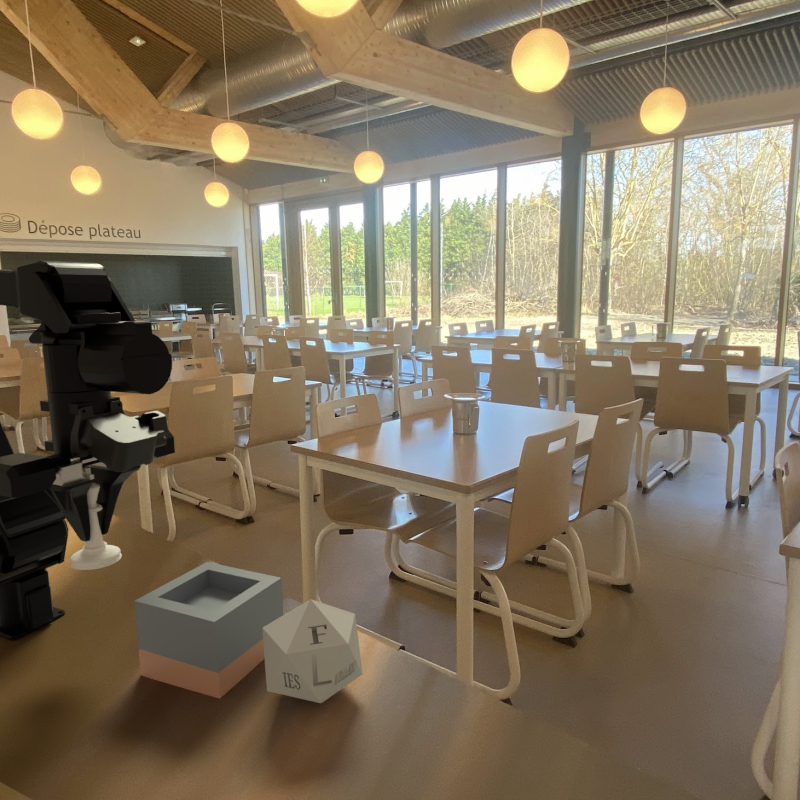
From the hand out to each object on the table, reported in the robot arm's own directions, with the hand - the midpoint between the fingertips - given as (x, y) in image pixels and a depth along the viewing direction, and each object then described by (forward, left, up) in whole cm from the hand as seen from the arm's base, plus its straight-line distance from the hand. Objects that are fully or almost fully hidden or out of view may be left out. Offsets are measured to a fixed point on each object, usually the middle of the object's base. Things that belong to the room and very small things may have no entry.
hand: (94, 537), depth 67 cm
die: (+26, +2, -12) cm, 29 cm away
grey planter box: (+13, +3, -12) cm, 18 cm away
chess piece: (0, 0, -3) cm, 3 cm away
